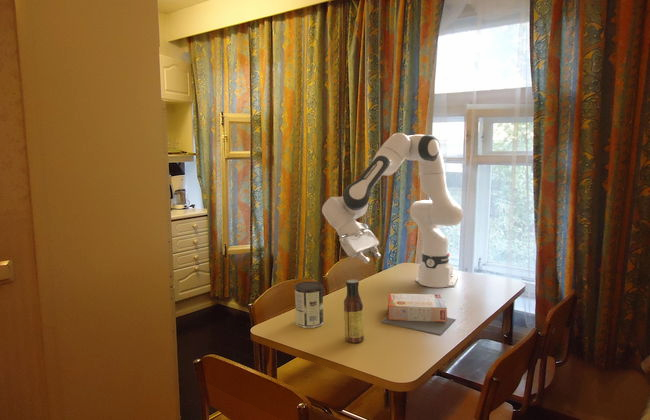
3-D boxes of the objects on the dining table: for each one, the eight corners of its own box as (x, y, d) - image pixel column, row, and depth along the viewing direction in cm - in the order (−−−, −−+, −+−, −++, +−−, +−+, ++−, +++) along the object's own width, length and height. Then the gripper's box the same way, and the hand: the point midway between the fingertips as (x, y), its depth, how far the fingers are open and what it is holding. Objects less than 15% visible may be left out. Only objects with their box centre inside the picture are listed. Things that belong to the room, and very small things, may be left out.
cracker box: (387, 321, 157) (447, 323, 154) (387, 305, 156) (447, 306, 153) (388, 307, 171) (443, 309, 167) (388, 292, 170) (443, 294, 166)
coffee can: (310, 315, 164) (309, 279, 162) (329, 322, 157) (328, 285, 155) (289, 323, 157) (288, 285, 155) (308, 330, 150) (307, 291, 148)
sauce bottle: (367, 339, 142) (367, 280, 140) (356, 345, 138) (355, 285, 135) (352, 334, 147) (351, 277, 144) (340, 340, 142) (339, 281, 139)
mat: (399, 309, 170) (399, 308, 169) (455, 320, 157) (455, 319, 157) (381, 322, 156) (381, 321, 156) (440, 335, 144) (440, 334, 144)
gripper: (342, 231, 158) (366, 260, 154) (368, 223, 175) (390, 249, 171) (332, 242, 161) (355, 271, 157) (358, 233, 178) (380, 259, 174)
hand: (373, 260), depth 164 cm, fingers open, 8 cm apart
